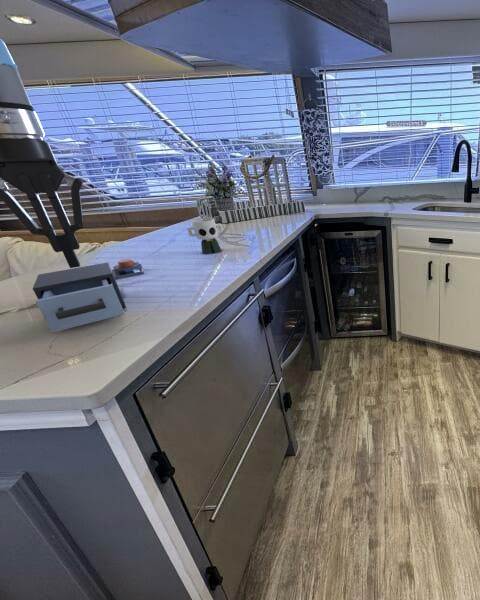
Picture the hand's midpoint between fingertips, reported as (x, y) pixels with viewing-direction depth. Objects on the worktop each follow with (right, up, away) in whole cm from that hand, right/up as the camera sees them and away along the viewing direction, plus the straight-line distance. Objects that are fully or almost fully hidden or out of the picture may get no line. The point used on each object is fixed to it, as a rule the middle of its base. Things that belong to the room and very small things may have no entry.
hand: (75, 265), depth 66 cm
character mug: (-2, +9, +53) cm, 54 cm away
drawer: (0, -11, +3) cm, 11 cm away
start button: (-15, +3, +31) cm, 34 cm away
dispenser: (-7, -9, +11) cm, 16 cm away
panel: (-17, -1, +30) cm, 35 cm away
